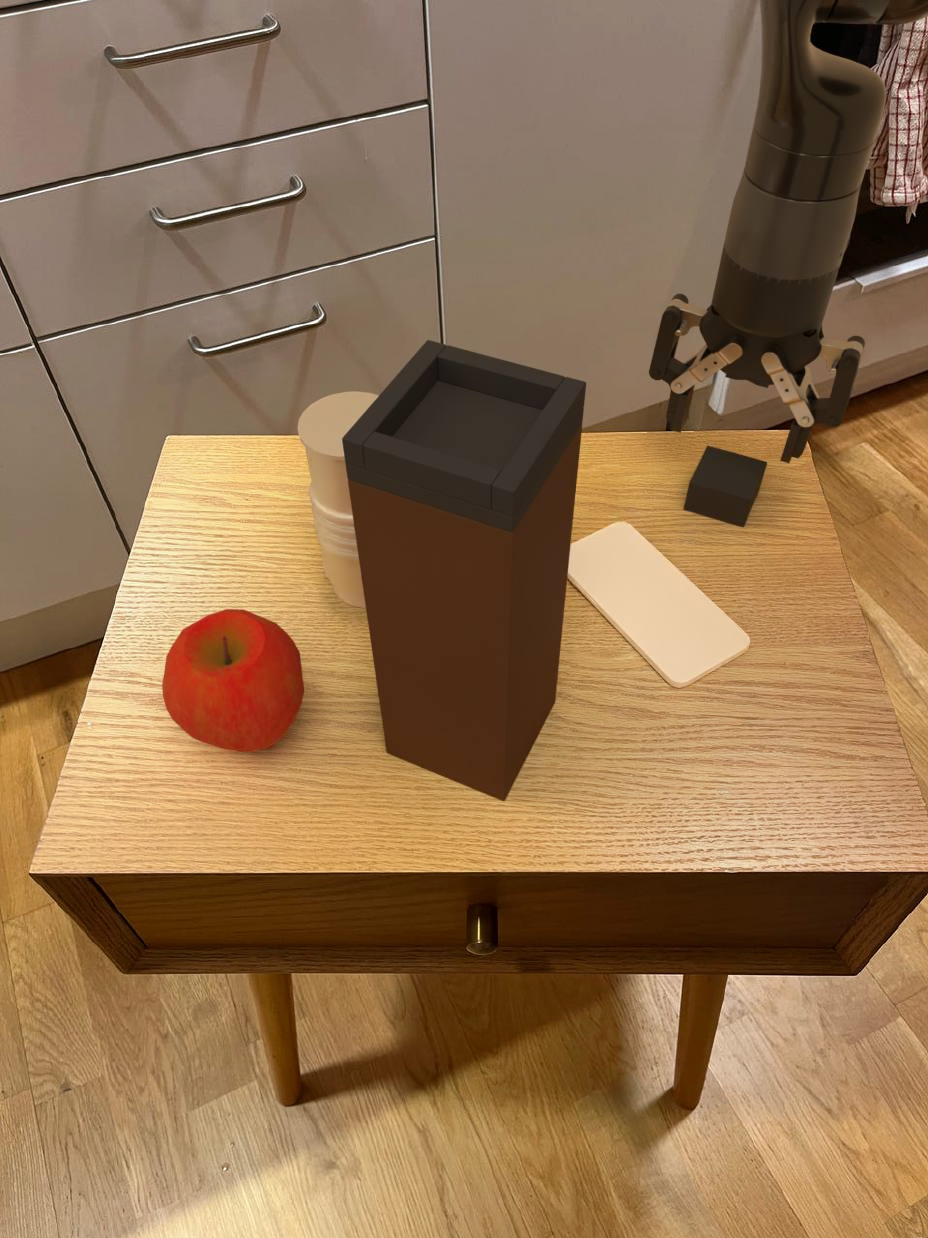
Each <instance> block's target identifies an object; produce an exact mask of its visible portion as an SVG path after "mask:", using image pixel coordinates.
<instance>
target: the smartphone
mask: <svg viewBox="0 0 928 1238" xmlns="http://www.w3.org/2000/svg"><path fill="white" fill-rule="evenodd" d="M567 580H569V581H570V583H572V584H573V585H574V586H575V588H577V590H579V591H580V593H582V595H583V596H584V597H585V598H586V599H587V600H588V601H589V602H590V603H591V604H592V605H593V607H595V608H596V609H597V611H598V612H600V613H601V614H602V615H603V617H604V618H605V619H606V620H607V621H608V623H610V624H611V625H612V626H613V627H614V628H615V630H617V631H618V632H619V634H621V635H622V637H623V638H624V639H625V640H626V641H627V642H628V643H629V644H630V645H631V646H632V647H633V648H634V649H635V650H636V651H637V652H638V653H639V654H640V655H641V657H642V658H644V660H646V662H647V663H648V664H650V666H651V667H652V668H653V669H654V671H656V672H657V673H658V674H659V675H660V676H661V678H662V679H663V680H664V681H665V682H667V683H668V684H669V685H670V686H672V687H674V688H676V689H677V688H679V689H682V688H686V687H687V686H690V685H691V684H693V683H695V682H696V681H698V680H700V679H701V678H704V677H705V676H707V675H708V674H710V673H712V672H714V671H716V670H718V669H719V668H721V667H723V666H725V665H726V664H728V663H729V662H731V661H733V660H735V659H736V658H738V657H739V656H741V655H743V654H744V653H746V652H747V651H748V649H749V648H750V645H751V638H750V636H749V635H748V634H747V632H746V631H744V630H743V629H742V628H741V626H739V625H738V624H737V623H736V622H735V621H734V620H733V619H731V617H730V616H729V615H727V613H726V612H725V611H723V610H722V609H721V608H720V607H719V606H718V605H717V604H716V603H715V602H714V601H713V600H712V599H711V598H710V597H708V596H707V595H706V594H705V593H704V592H703V591H702V590H701V589H700V588H699V587H698V586H697V585H695V583H693V582H692V581H691V580H690V579H689V578H688V577H687V576H686V575H685V574H684V573H683V572H682V571H681V570H679V568H678V567H677V566H676V565H674V564H673V563H672V562H671V561H670V560H669V559H668V558H667V557H666V556H665V555H664V554H662V552H660V551H659V550H658V549H657V548H656V547H655V546H654V545H653V544H652V543H651V542H650V541H649V540H647V538H645V537H644V536H643V535H642V534H641V533H640V532H639V530H637V529H636V528H635V527H634V526H633V525H632V524H630V523H629V522H626V521H622V520H621V521H616V522H613V523H612V524H609V525H607V526H605V527H602V528H601V529H599V530H597V531H594V532H593V533H590V534H589V535H586V536H584V537H582V538H580V539H578V540H575V541H574V542H573V543H572V542H571V545H570V556H569V566H568V576H567Z"/></svg>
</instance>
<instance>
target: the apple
mask: <svg viewBox="0 0 928 1238" xmlns="http://www.w3.org/2000/svg"><path fill="white" fill-rule="evenodd" d="M163 671H164V673H163V677H162V682H161V691H162V698H163V702H164V706H165V710H166V711H167V713H168V715H169V716H170V718H171V720H172V721H173V722H174V723H176V725H177V726H178V727H179V728H180V729H181V730H182V731H184V732H185V733H186V734H188V735H189V736H190V737H191V738H192V739H195V740H197V741H199V742H201V743H203V744H207V745H210V746H213V747H215V748H218V749H223V750H227V751H231V752H232V751H233V752H239V753H240V752H241V753H247V752H255V751H259V750H260V751H261V750H264V749H266V748H269V747H271V746H273V745H274V744H275V743H277V742H278V741H279V740H280V739H281V738H283V737H284V736H285V734H287V732H288V731H289V729H290V727H291V726H292V725H293V723H294V721H295V719H296V717H297V715H298V713H299V711H300V708H301V706H302V702H303V698H304V694H305V686H304V677H303V667H302V660H301V652H300V651H299V648H298V647H297V645H296V643H295V641H294V640H293V638H292V637H291V636H290V634H289V633H288V632H287V631H285V629H283V628H282V626H280V624H278V623H277V622H274V621H272V620H270V619H268V618H265V617H263V616H261V615H259V614H256V613H253V612H250V611H248V610H246V609H241V608H239V609H238V608H225V609H223V610H220V611H216V612H212V613H209V614H207V615H206V616H204V617H202V618H200V619H199V620H197V621H195V622H193V623H192V624H190V625H188V626H186V627H184V628H183V629H182V630H181V631H180V633H179V634H178V636H177V638H175V640H174V641H173V643H172V645H171V647H170V648H169V651H168V652H167V654H166V657H165V664H164V670H163Z"/></svg>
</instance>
